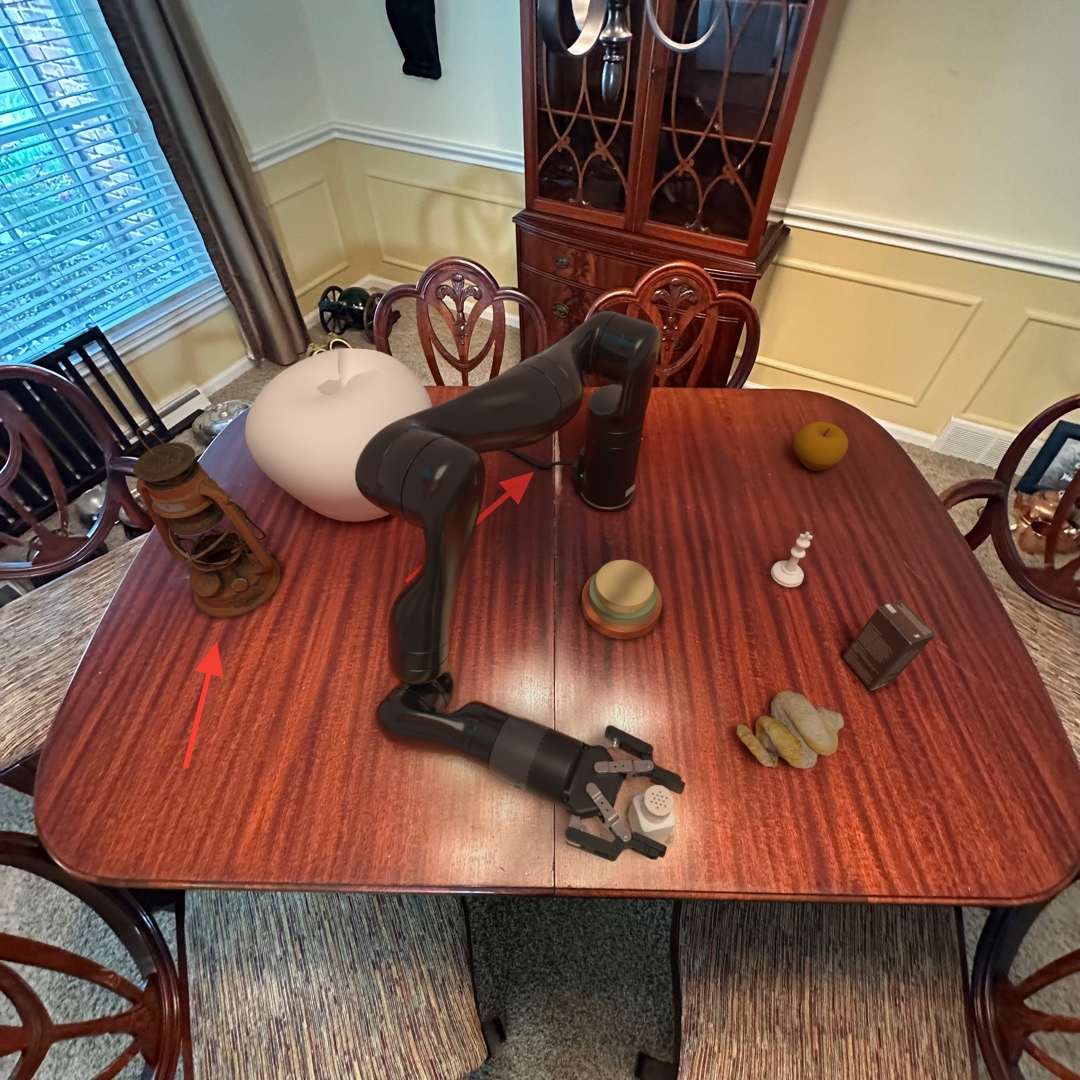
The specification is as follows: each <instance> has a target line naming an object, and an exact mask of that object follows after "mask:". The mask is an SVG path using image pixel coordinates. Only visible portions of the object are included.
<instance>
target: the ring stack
mask: <svg viewBox="0 0 1080 1080" xmlns="http://www.w3.org/2000/svg"><path fill="white" fill-rule="evenodd" d="M581 593H582V594H581V602H580V605H581V611H582V614H583V617H584V619H585V621H586V622H587V623H588V624H589V625H590V626H591V628H593V629H594V630H595V631H597V632H598V633H600V634H601V635H603V636H606V637H608V638H610V639H611V638H612V639H616V640H633V639H637V638H639V637H642V636H644V635H646V634H648V633H649V632H650V631H651V630H652V629H654V628H655V626H656V625H657V623H658V621H659V620H660V616H661V614H662V613H661V612H662V609H663V598H662V593H661V591H660V589H659V587H658V586H657V584H656V582H655V580H654V578H653V576H652V574H651V573H650V571H649V569H647V568H646V567H645V566H644V565H642V564H640V563H639V562H636V561H633V560H629V559H616V560H612V561H609V562H607V563H605V564H604V565H602V566H601V567H600V569H599V570H598V571H597V572H595V573H594V574H593V575H591V576H590V577H589V579H587V580H586V582H585V584H584V586H583V588H582V592H581Z"/></svg>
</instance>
